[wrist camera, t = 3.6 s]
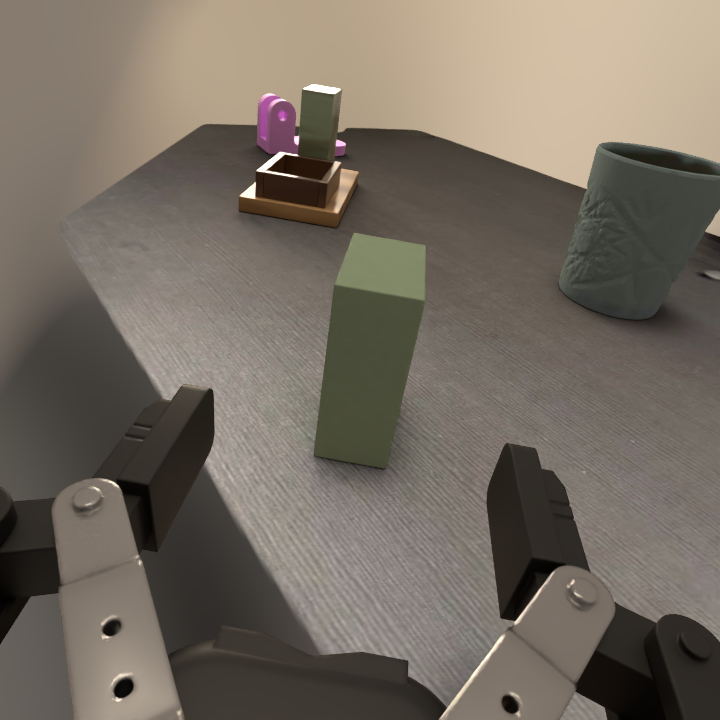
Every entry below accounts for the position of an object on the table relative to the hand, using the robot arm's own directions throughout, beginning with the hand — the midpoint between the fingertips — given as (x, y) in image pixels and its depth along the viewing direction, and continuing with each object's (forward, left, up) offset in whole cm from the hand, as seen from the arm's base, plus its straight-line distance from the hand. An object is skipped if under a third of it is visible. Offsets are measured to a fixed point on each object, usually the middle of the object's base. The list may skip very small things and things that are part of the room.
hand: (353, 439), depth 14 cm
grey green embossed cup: (+36, +13, -8) cm, 39 cm away
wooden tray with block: (+23, +43, -8) cm, 50 cm away
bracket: (+33, +64, -8) cm, 72 cm away
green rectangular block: (+6, +8, -8) cm, 13 cm away
